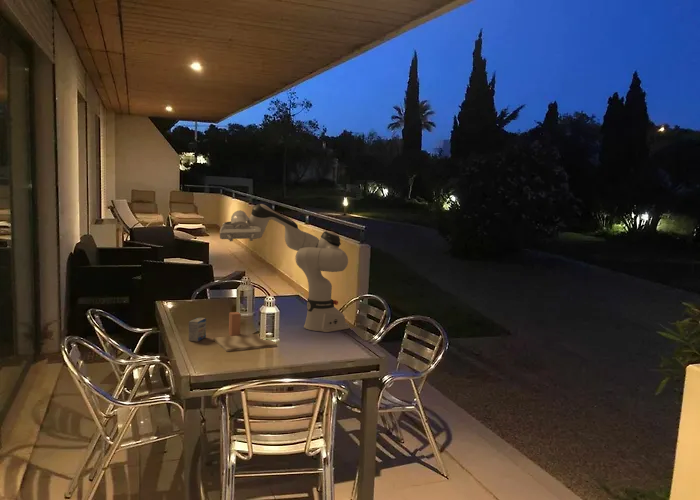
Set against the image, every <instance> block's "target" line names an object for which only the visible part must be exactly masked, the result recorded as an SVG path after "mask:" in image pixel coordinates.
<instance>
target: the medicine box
mask: <svg viewBox="0 0 700 500" xmlns="http://www.w3.org/2000/svg"><path fill="white" fill-rule="evenodd" d="M206 337H207V318H205V317H196V318H194V319H192V320H190V321H188V342H189V341H190V342H200V341H202V340H204V339H205V338H206Z"/></svg>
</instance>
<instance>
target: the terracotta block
mask: <svg viewBox="0 0 700 500" xmlns="http://www.w3.org/2000/svg"><path fill="white" fill-rule="evenodd" d="M241 315H242V314H241V313H240V312H238V311H231V312H229V313H228V335H229V336H238V335H241V321H242V319H241Z"/></svg>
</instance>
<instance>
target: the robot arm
mask: <svg viewBox="0 0 700 500" xmlns="http://www.w3.org/2000/svg"><path fill="white" fill-rule="evenodd" d="M251 210H252V211H251V214H250V216H248V215H247V213H246V212H245V211H244V210H236V211H234V212H233V213H232V215H231V218H230V221H225V222H222V224H221V225H222V226H220V229H219V239H221V240H229V242H234V240H241V239H243V240H244V239H247V240H249V242H251V241H254V240H255V239H261V238H262V237H263V235H264V233H265V231H266V228H267V226H268V223H269V221H271V220H273V221H274V222H277V224H280V225H282V226H283V227H284V242H285V244H286V246H287V248H289V249H291V250H293V251H297V252H296V253H295V258H294V260H295V263H296V265H297V266H298V268H300V269H301V270H302V271H303V272H302V273H304V274H305V276H306V279H307V284H308V285H307V286H308V298H307V302H306V308H307V312H306V318H305V321H304V325H303V329H306V330H309V331H314V332H315V331H316V332H324V333H329V332H336V331H341V330H342V331H343V330H347V329H350V328H351V326H350V324H349V323H347V322H346V317H345V314H344V313H343V312H341V311H340V310H339V309H338V308H337V307H335V306H338V304H339V301H338V300H336V299H335V300H334V299H332V292H333V291H332V289H333V288H332V287H333V286H332V283H331V281H330V280H329V279H328V278H326V277H325V276H324V275H323V274H322V272H326V273H327V272H328V273H330V272H331V273H337V272H338V273H339V272H343V271H345V270H346V268H347V267H348V263H349V257H348V255H347V253H346V252H345V251H344V250H343V249H342V248H340V246H341V244H342V243H341V237H340V236H339V235H338V233H336V232H334V231H331V230H329V231H328V230H327V231H323V233H322V234H321V235H320V239H319V237H317V236H315V235H313V234H311V233H309V232H307V231H303V230H301V229H300V228H299V226H298V223H296V222H295V221H294V220H292V219H290V218H289V217H287V216H286V215H283V214H282V213H279V212H278V211H276V210H274V209H272V208H270V207H269V206H267V205H266V204H263V203H258V204H256V205H253V206H252V209H251Z"/></svg>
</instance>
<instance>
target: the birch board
mask: <svg viewBox="0 0 700 500" xmlns="http://www.w3.org/2000/svg"><path fill="white" fill-rule="evenodd" d="M259 334H260V333H251V334H240V335H238V336H230V335H229V336H221V337H220V336H219V337H213V342H215V343H216V344H217V345H218V346H219V347H220V348H222V349H223V350H224V352H226V353H227V352H235V351H244V350H246V349H247V350H254V349H255V350H256V349H264V348H273V347H277V346H278V344H277V342H274V340H272V339H270V340H263V339H260V338H259Z"/></svg>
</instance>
